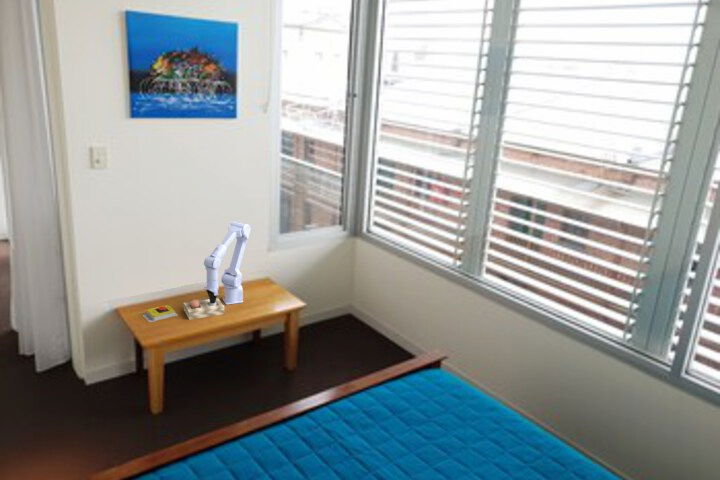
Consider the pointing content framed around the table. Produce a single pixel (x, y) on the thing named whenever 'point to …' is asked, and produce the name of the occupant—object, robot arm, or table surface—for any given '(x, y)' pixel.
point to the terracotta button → (194, 304)
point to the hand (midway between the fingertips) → (212, 302)
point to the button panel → (204, 309)
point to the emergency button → (159, 313)
